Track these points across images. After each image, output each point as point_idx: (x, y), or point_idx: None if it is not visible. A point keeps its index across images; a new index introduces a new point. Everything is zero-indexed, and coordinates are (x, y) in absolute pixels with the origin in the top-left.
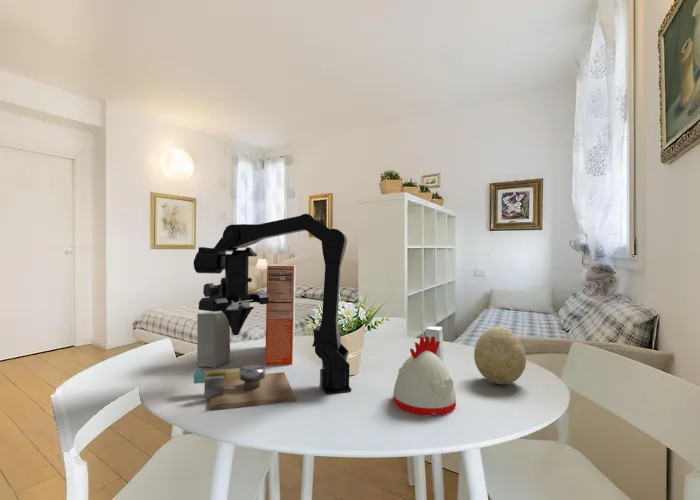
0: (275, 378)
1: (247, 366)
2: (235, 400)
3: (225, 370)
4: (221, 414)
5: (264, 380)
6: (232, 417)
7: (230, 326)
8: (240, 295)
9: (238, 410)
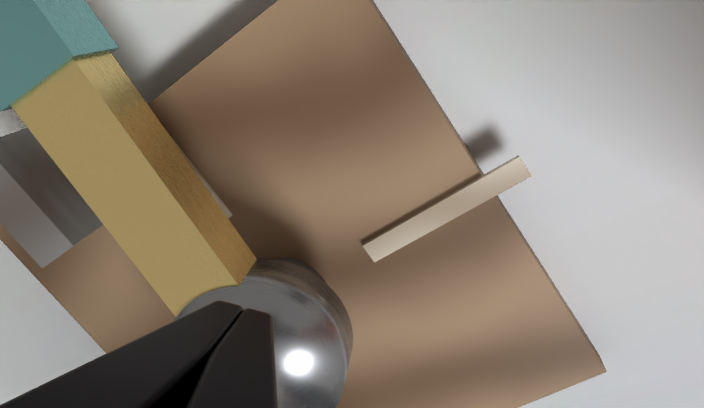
0: (463, 364)
1: (287, 314)
2: (94, 308)
3: (144, 207)
4: (10, 288)
5: (406, 321)
6: (16, 341)
7: (86, 375)
8: None
9: (75, 332)
